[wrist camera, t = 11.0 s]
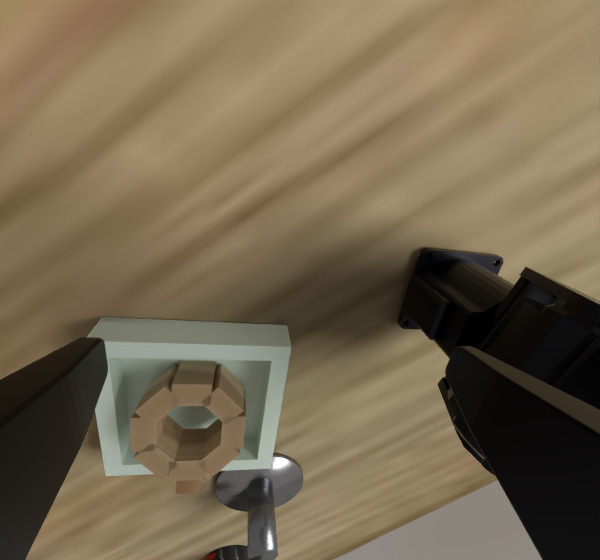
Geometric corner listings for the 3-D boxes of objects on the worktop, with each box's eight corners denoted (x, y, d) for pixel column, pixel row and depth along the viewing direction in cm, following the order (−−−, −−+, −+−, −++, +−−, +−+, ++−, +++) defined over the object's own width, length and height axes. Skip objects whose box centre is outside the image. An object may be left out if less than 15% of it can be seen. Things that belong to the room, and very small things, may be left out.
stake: (308, 450, 30) (322, 521, 24) (295, 504, 33) (305, 576, 28) (217, 454, 28) (210, 530, 23) (214, 510, 31) (207, 588, 26)
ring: (247, 362, 23) (248, 384, 20) (238, 464, 25) (238, 499, 22) (146, 359, 22) (131, 383, 19) (144, 468, 24) (129, 506, 21)
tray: (287, 325, 23) (291, 347, 21) (268, 440, 28) (270, 468, 26) (102, 316, 21) (83, 340, 18) (118, 445, 26) (105, 476, 23)
